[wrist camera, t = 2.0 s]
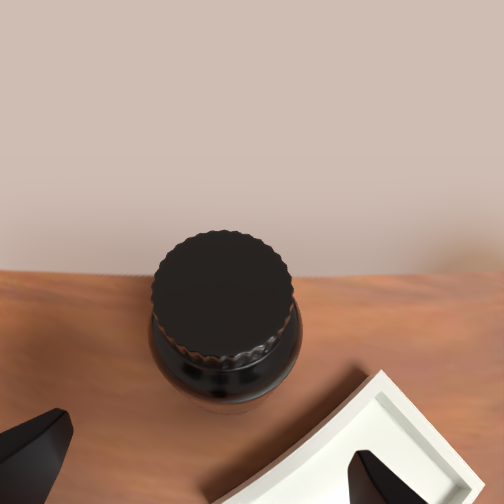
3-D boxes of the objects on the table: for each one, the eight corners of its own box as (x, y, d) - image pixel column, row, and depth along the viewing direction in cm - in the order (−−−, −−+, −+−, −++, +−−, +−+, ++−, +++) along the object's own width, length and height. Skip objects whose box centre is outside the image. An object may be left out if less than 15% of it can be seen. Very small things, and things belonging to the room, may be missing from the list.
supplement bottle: (299, 368, 20) (366, 297, 10) (223, 435, 18) (211, 444, 8) (232, 300, 23) (233, 180, 13) (157, 358, 20) (86, 278, 10)
